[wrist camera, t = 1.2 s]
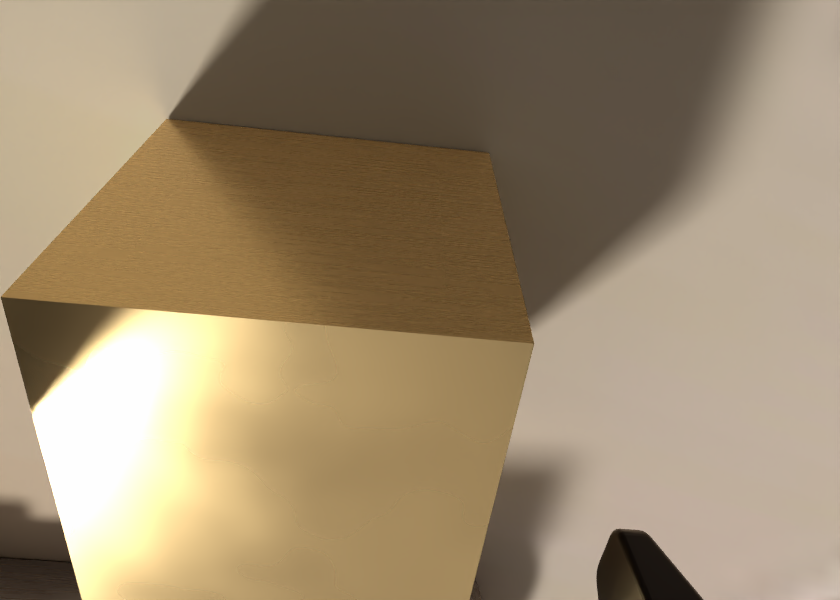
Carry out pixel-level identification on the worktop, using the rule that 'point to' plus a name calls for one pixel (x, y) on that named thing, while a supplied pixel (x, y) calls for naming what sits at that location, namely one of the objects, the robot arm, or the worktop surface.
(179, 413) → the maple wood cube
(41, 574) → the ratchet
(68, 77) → the worktop surface
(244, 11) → the worktop surface
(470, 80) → the worktop surface
